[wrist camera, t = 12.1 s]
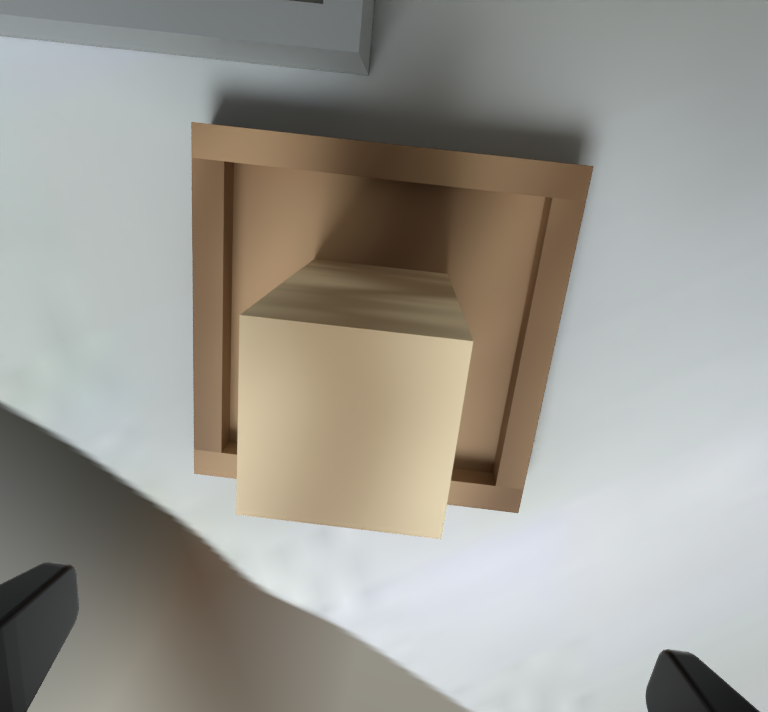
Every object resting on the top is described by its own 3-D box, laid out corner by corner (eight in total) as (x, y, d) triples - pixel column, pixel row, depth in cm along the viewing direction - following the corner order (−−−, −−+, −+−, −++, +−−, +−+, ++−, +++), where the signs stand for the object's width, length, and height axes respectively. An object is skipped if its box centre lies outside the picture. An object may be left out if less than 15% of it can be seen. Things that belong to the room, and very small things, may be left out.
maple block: (447, 273, 18) (473, 341, 10) (430, 397, 19) (441, 539, 11) (314, 258, 18) (239, 314, 10) (306, 383, 19) (236, 514, 12)
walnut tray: (578, 167, 17) (593, 166, 16) (510, 490, 21) (518, 512, 19) (209, 127, 17) (191, 122, 16) (209, 454, 21) (194, 473, 20)
